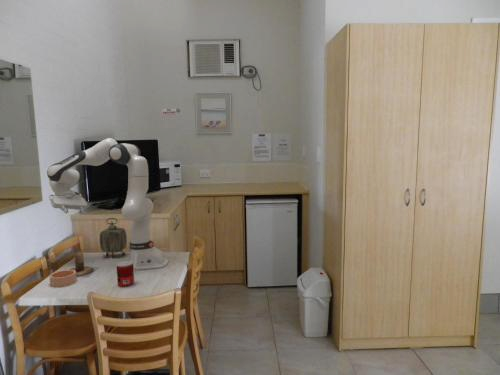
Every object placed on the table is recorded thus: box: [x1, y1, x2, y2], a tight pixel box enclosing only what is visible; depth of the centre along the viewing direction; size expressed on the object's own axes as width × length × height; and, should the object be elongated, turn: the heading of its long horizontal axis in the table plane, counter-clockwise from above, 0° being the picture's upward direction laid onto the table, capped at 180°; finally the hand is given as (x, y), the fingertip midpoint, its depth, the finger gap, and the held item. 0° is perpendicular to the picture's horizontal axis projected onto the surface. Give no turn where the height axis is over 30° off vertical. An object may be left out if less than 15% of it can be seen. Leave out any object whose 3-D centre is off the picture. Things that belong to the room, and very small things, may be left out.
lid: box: [69, 251, 94, 278], centre depth 200 cm, size 14×14×11 cm
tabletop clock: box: [99, 217, 128, 258], centre depth 228 cm, size 14×9×25 cm, turn 91°
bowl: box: [48, 269, 78, 288], centre depth 185 cm, size 12×12×5 cm
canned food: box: [116, 260, 135, 288], centre depth 182 cm, size 8×8×11 cm
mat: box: [70, 266, 100, 278], centre depth 201 cm, size 16×16×1 cm
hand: (74, 212), depth 206 cm, fingers open, 8 cm apart
